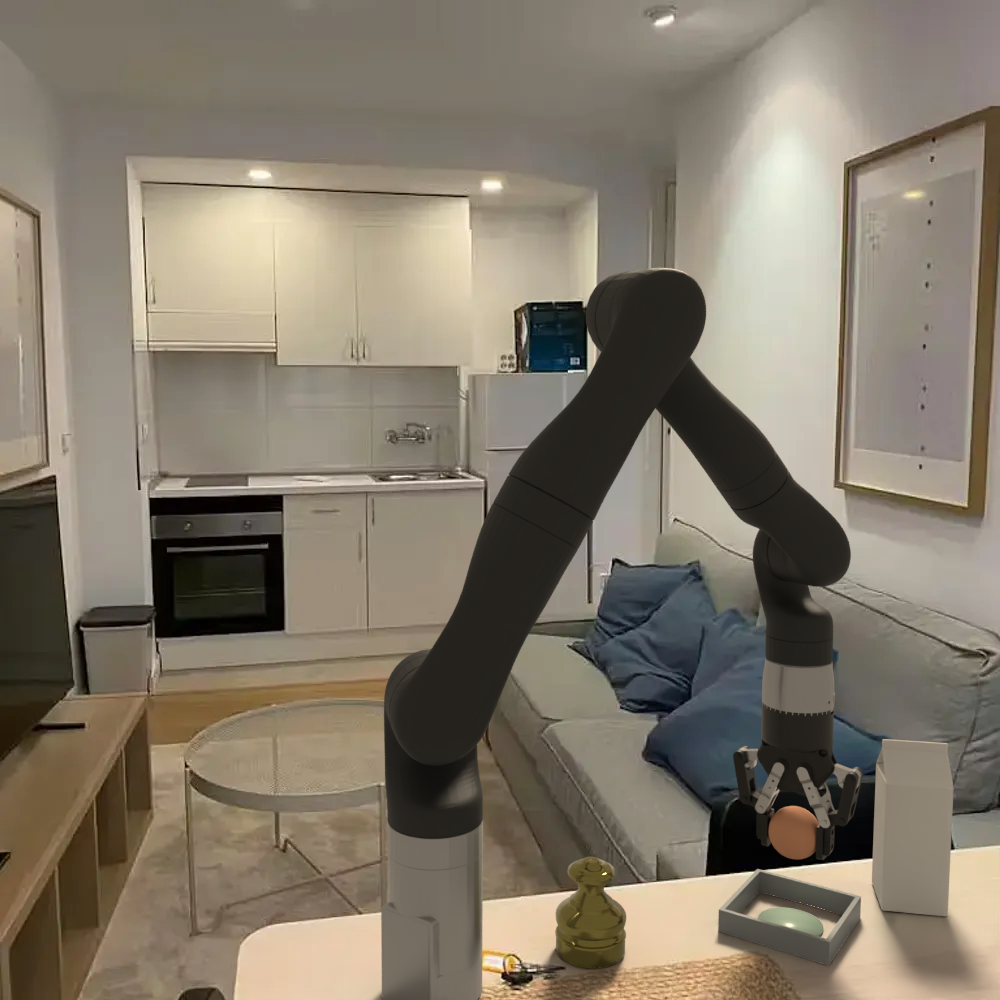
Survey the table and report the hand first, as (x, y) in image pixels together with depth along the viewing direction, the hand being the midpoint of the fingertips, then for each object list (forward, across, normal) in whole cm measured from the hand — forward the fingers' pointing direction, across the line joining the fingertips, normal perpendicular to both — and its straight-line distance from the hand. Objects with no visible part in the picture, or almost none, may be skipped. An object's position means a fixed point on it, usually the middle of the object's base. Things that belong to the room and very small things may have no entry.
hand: (794, 849), depth 111 cm
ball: (+1, 0, 0) cm, 1 cm away
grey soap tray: (+9, 0, 0) cm, 9 cm away
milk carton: (+9, +9, +13) cm, 19 cm away
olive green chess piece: (+9, -16, -18) cm, 25 cm away
